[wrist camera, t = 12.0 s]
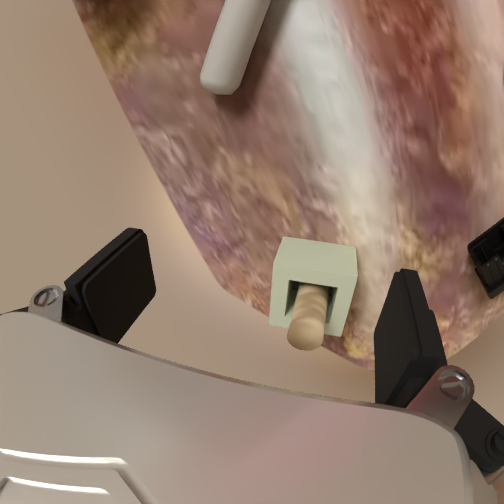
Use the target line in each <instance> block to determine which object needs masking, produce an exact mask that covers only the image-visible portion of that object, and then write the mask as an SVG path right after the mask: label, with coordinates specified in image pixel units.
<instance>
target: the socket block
mask: <svg viewBox="0 0 504 504" xmlns="http://www.w3.org/2000/svg"><path fill="white" fill-rule="evenodd" d="M357 277H358V271H357V256H356V247H352V246H345V245H339V244H332V243H326V242H319V241H312V240H306V239H299V238H292V237H285V236H283V239H282V241H281V244H280V247H279V250H278V252H277V255H276V258H275V260H274V263H273V276H272V289H271V302H270V315H269V325H273V326H278V327H284V328H289V326H290V322H291V318H292V314H293V309H294V305H295V301H296V297H297V292H298V288H299V283H300V282H306V283H312V284H318V285H325V286H329V290H328V301H327V310H326V319H325V328H324V334H326V335H333V336H340V337H341V335H342V331H343V328H344V325H345V321H346V318H347V314H348V311H349V307H350V304H351V300H352V297H353V293H354V289H355V285H356V281H357Z"/></svg>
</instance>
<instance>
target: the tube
mask: <svg viewBox="0 0 504 504" xmlns="http://www.w3.org/2000/svg"><path fill="white" fill-rule="evenodd" d="M270 2H271V0H226V1H225V4H224V6H223V9H222V12H221V14H220V17H219V20H218V22H217V25H216V28H215V31H214V34H213V37H212V40H211V43H210V46H209V49H208V52H207V55H206V58H205V61H204V64H203V67H202V70H201V74H200V81H201V87H202V88H204V89H206V90H208V91H210V92H212V93H214V94H223V95H232V94H233V93H234V92H235V90H236V89H237V88H238V87H239V86H240V84H241V81H242V78H243V75H244V72H245V69H246V66H247V63H248V61H249V58H250V55H251V52H252V50H253V47H254V44H255V41H256V39H257V36H258V33H259V31H260V28H261V25H262V23H263V20H264V18H265V15H266V12H267V10H268V7H269V5H270Z"/></svg>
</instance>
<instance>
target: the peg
mask: <svg viewBox="0 0 504 504" xmlns="http://www.w3.org/2000/svg"><path fill="white" fill-rule="evenodd" d="M328 290H329V286H325V285H318V284H312V283H306V282H300V283H299V288H298V292H297V297H296V301H295V305H294V309H293V314H292V318H291V322H290V326H289V330H288V334H287V339H288V341H289V343H290V344H291V345H292V346H293V347H295V348H297V349H300V350H313V349H316V348H318V347H319V346H320V345H321V344H322V342H323V336H324V328H325V319H326V310H327V301H328Z"/></svg>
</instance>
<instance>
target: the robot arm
mask: <svg viewBox="0 0 504 504" xmlns="http://www.w3.org/2000/svg"><path fill="white" fill-rule="evenodd" d="M503 75H504V72H503ZM64 284H65V286H66V290H65V291H64V292H63V290H62V288H61V287H59V286H56V285H51V286H46V287H43V288H41V289H40V290H38V291H37V292H36V293H34V295H33V296H32V298H31V300H30V304H29V306H28V307H25V308H21V309H18V310H14V311H11V312H7V313H4V314H1V315H0V504H504V426H503V425H502V424H501V423H500V422H499V421H497V420H496V419H495V418H494V417H493V416H492V415H491V414H489V413H488V412H487V411H486V410H485V409H484V408H482V407H481V406H480V405H479V404H478V403H477V402H475V401H474V400H473V399H472V398H473V395H474V383H473V380H472V378H471V377H470V375H469V374H468V373H467V372H466V371H465V370H463V369H461V368H460V367H457V366H453V365H447V360H446V356H445V352H444V348H443V344H442V340H441V336H440V333H439V329H438V325H437V322H436V318H435V315H434V312H433V311H432V310H429V307H428V304H427V300H426V297H425V294H424V291H423V288H422V284H421V281H420V278H419V275H418V272H417V271H416V270H409V269H403V268H402V269H401V270H400V272H395V273H394V276H393V279H392V282H391V285H390V288H389V291H388V294H387V297H386V300H385V303H384V306H383V309H382V311H381V314H380V317H379V320H378V322H377V325H376V328H375V331H374V354H375V403H370V402H363V401H355V400H347V399H340V398H334V397H327V396H321V395H315V394H308V393H303V392H297V391H292V390H286V389H281V388H276V387H271V386H266V385H261V384H256V383H252V382H247V381H243V380H239V379H234V378H230V377H226V376H222V375H218V374H214V373H210V372H207V371H203V370H199V369H195V368H192V367H188V366H185V365H182V364H178V363H175V362H172V361H168V360H165V359H162V358H159V357H156V356H152V355H149V354H146V353H143V352H140V351H137V350H134V349H131V348H129V347H126V346H123V345H120V344H118V342H119V341H120V340H121V338H122V337H123V336H124V335H125V333H126V332H127V330H128V329H129V328H130V327H131V325H132V324H133V323H134V322H135V320H136V319H137V318H138V316H139V315H140V314H141V313H142V311H143V310H144V308H145V307H146V306H147V305H148V304H149V302H150V301H151V300H152V299H153V297H154V296H155V293H156V286H155V280H154V275H153V270H152V264H151V258H150V253H149V246H148V240H147V235H146V234H145V233H144V232H143V230H141V229H136V228H127V229H126V230H125V231H123V232H122V233H121V234H120V235H119V236H117V237H116V238H115V239H113V240H112V241H111V242H110V243H109V244H107V245H106V246H105V247H104V248H103V249H101V250H100V251H99V252H98V253H97V254H95V255H94V256H93V257H92V258H91V259H90V260H88V261H87V262H86V263H85V264H84V265H82V266H81V267H80V268H79V269H78V270H77V271H76V272H75V273H73V274H72V275H71V276H70V277H69V278H68V279H67V280H66V281H64Z"/></svg>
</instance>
